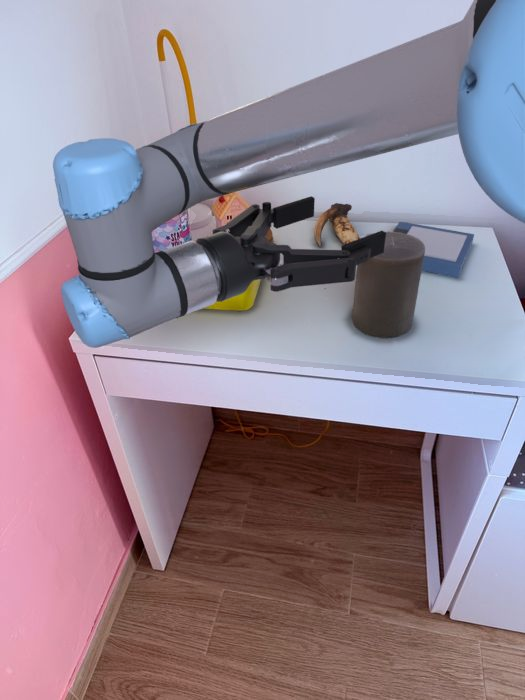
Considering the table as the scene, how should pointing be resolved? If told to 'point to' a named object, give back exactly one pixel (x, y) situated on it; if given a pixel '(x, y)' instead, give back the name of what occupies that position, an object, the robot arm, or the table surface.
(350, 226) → the brown forked curved piece
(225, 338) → the table surface
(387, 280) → the pillar candle
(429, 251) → the scale
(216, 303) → the element tile
